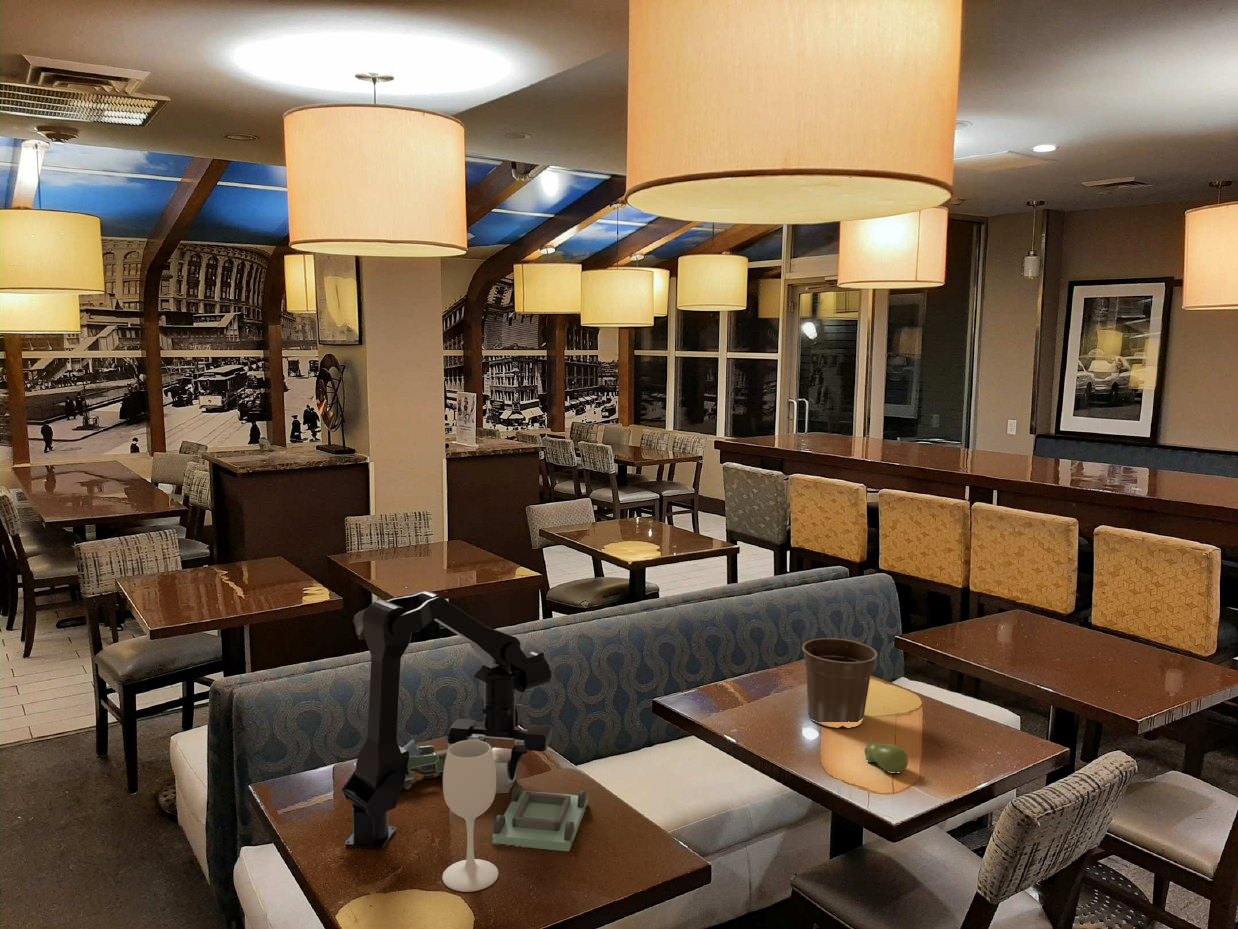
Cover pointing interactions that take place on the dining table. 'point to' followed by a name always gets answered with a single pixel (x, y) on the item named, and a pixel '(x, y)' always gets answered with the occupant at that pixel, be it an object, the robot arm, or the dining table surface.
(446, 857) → the dining table surface
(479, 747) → the wineglass
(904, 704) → the dining table surface
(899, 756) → the pear
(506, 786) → the white block
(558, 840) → the chassis
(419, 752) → the hoverbike
